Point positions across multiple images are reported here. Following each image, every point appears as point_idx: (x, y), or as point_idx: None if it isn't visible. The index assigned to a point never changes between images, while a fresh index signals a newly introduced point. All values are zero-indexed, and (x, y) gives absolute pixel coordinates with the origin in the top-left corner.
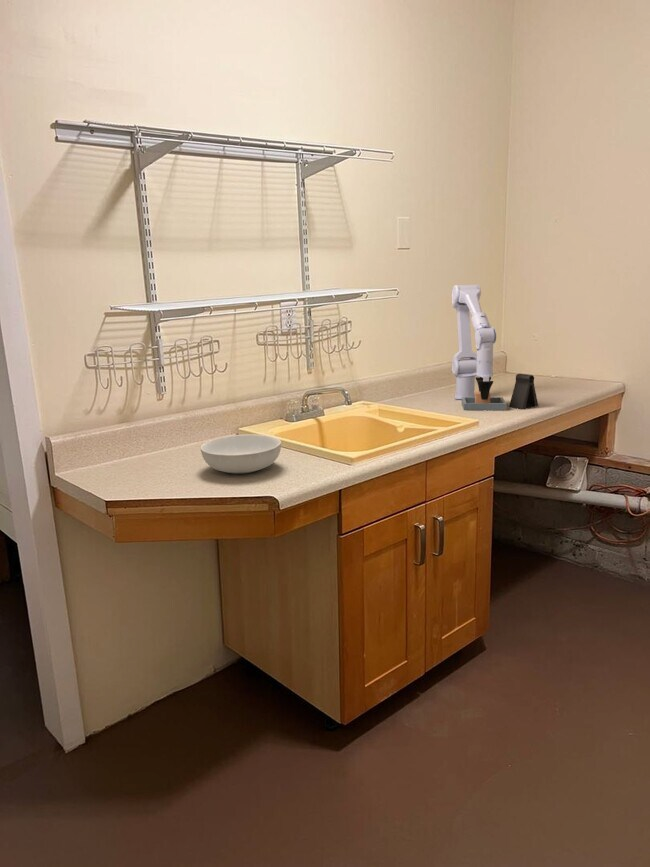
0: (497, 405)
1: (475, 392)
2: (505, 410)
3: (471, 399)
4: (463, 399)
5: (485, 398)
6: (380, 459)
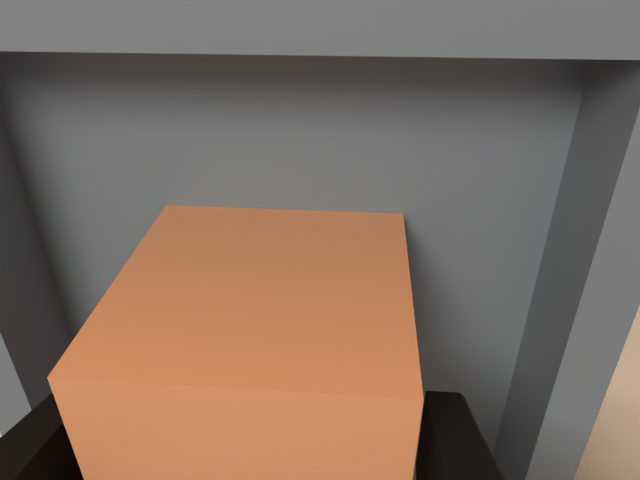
0: None
1: (335, 385)
2: None
3: (589, 204)
4: (394, 4)
5: None
6: None
